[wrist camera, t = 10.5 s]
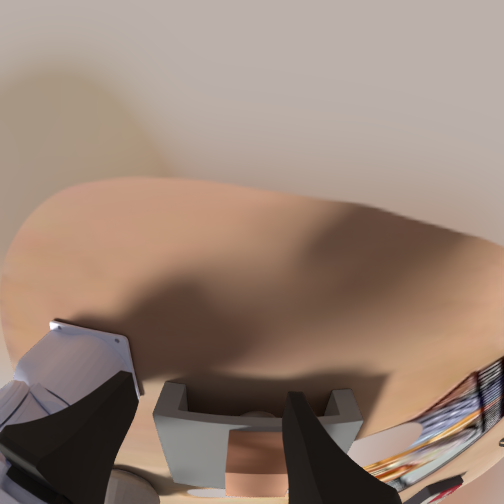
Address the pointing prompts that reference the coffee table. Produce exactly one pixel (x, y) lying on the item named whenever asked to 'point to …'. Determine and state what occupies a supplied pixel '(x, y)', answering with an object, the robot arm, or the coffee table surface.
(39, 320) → the coffee table surface
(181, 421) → the keyhole plate
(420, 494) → the red and grey box
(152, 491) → the coffee pot
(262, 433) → the peg
